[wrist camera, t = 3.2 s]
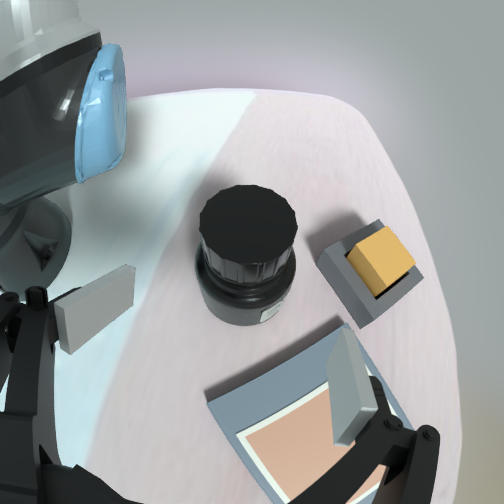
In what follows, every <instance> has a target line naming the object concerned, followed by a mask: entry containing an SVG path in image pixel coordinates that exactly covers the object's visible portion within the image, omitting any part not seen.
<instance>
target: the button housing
mask: <svg viewBox="0 0 504 504" xmlns="http://www.w3.org/2000/svg"><path fill="white" fill-rule="evenodd" d="M384 227H385V226H384V225H383V223H382V222H381V221H380V220H379V219H378V220H376V221H374V222H373V223H371V224H369V225H367V226H365V227H364V228H362V229H360V230H358V231H356V232H355V233H353V234H351V235H349V236H347V237H345V238H344V239H342V240H340V241H338V242H336V243H334V244H333V245H331V246H329V247H327V248H325V249H324V250H323V252H322V254H321V256H320V257H319V259H318V261H317V263H316V266H317V267H318V268H319V270H320V271H321V273H322V274H323V275H324V277H325V278H326V280H327V281H328V283H329V284H330V285H331V287H332V288H333V290H334V291H335V293H336V294H337V295H338V297H339V298H340V300H341V301H342V303H343V304H344V306H345V307H346V309H347V310H348V312H349V313H350V315H351V316H352V317H353V319H354V320H355V322H356V323H357V325H358V326H359V328H360V329H361V328H363V327H364V326H366V325H368V324H369V323H371V322H372V321H374V320H375V319H376V318H378V317H379V316H380V315H381V314H383V313H384V312H385V311H386V310H388V309H389V308H390V307H391V306H393V305H394V304H395V303H396V302H397V301H398V300H400V299H401V298H402V297H403V296H404V295H405V294H407V293H408V292H409V291H410V290H411V289H412V288H413V287H414V286H416V285H417V284H418V283H419V282H420V281H421V280H422V279H423V278H424V277H423V276H422V274H421V273H420V271H419V270H418V269H417V267H416V266H415V265H413V266H412V267H411V268H410V269H409V270H408V271H407V272H406V273H405V274H404V275H402V276H401V277H400V278H399V279H398V280H397V281H395V282H394V285H395V286H394V287H393V288H392V289H390V290H389V291H388V292H387V293H385V294H384V295H383V296H381V297H380V298H379V299H377V300H376V299H375V298H374V296H373V295H372V294H371V292H370V291H369V289H368V288H367V286H366V285H365V284H364V282H363V281H362V279H361V278H360V277H359V275H358V274H357V273H356V271H355V270H354V268H353V267H352V266H351V264H350V263H349V262H348V260H347V259H346V258H347V256H348V255H349V253H350V252H351V250H352V249H353V248H354V246H355V245H356V244H357V243H359V242H361V241H362V240H364V239H366V238H367V237H369V236H371V235H372V234H374V233H376V232H377V231H379V230H381V229H382V228H384Z"/></svg>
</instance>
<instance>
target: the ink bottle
mask: <svg viewBox="0 0 504 504" xmlns="http://www.w3.org/2000/svg"><path fill="white" fill-rule="evenodd" d="M297 229H298V225H297V222H296V217H295V211H294V210H293V209H292V208H291V206H290V205H289V204H288V202H287V200H286V199H285V198H283V197H281V196H280V195H278V194H277V193H275V192H274V191H273V190H271V189H267V188H263V187H260V186H257V185H235V186H234V187H230V188H227V189H224V190H221V191H219V193H217V194H216V195H215V196H213V197H212V198H211V199H209V200H208V201H207V203H206V205H205V207H204V209H203V210H202V212H201V213H200V227H199V232H200V237H201V242H200V244H199V246H198V249H197V252H196V257H195V270H196V276H197V279H198V282H199V286H200V289H201V292H202V295H203V298H204V301H205V303H206V305H207V307H208V308H209V310H210V311H211V312H212V313H213V314H214V315H215V316H216V317H217V318H219V319H221V320H222V321H224V322H227V323H229V324H233V325H238V326H251V325H256V324H260V323H263V322H265V321H267V320H268V319H270V318H271V317H273V316H274V315H275V314H276V313H277V312H278V310H279V309H280V308H281V306H282V304H283V302H284V300H285V298H286V296H287V294H288V292H289V290H290V288H291V285H292V282H293V280H294V276H295V271H296V258H295V253H294V250H293V247H292V246H293V243H294V238H295V235H296V232H297Z"/></svg>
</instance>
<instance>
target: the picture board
mask: <svg viewBox="0 0 504 504" xmlns="http://www.w3.org/2000/svg"><path fill="white" fill-rule="evenodd" d="M342 328H346V329H350V330H352V329H351V328H350V326H349V325H348V323H345V324H344V325H342V326H341V327H339V328H338V329H336V330H335V331H333V332H332V333H330V334H329V335H327V336H326V337H324V338H323V339H321V340H320V341H318V342H317V343H315V344H314V345H312V346H310V347H309V348H307V349H306V350H304V351H302V352H301V353H299V354H298V355H296V356H294V357H293V358H291V359H289V360H288V361H286V362H284V363H282V364H281V365H279V366H277V367H276V368H274V369H272V370H270V371H269V372H267V373H265V374H263V375H261V376H259V377H258V378H256V379H254V380H252V381H250V382H248V383H246V384H245V385H243V386H241V387H239V388H237V389H235V390H233V391H231V392H229V393H227V394H225V395H223V396H221V397H219V398H217V399H214V400H212V401H210V402H208V403H206V404H207V406H208V408H209V410H210V411H211V413H212V415H213V416H214V418H215V420H216V421H217V423H218V425H219V426H220V428H221V430H222V431H223V433H224V435H225V436H226V438H227V439H228V441H229V442H230V444H231V445H232V447H233V449H234V450H235V452H236V453H237V455H238V456H239V458H240V459H241V460H242V462H243V463H244V465H245V466H246V468H247V469H248V471H249V472H250V473H251V475H252V476H253V478H254V479H255V480H256V482H257V483H258V484H259V486H260V487H261V488H262V490H263V491H264V492H265V494H266V495H267V496H268V497H269V499H270V500H271V501H272V502H273V504H287V503H289V502H290V501H291V500H293V499H294V498H295V497H297V496H298V495H299V494H301V493H302V492H303V491H304V490H306V489H307V488H308V487H309V486H311V485H312V484H313V483H314V482H315V481H317V480H318V479H319V478H320V477H321V476H322V475H323V474H325V473H326V472H327V471H328V470H329V469H330V468H331V467H332V466H333V465H334V464H336V463H337V462H338V461H339V460H340V459H341V458H342V457H343V456H344V455H345V454H346V453H347V452H348V451H349V450H350V449H351V448H352V447H353V446H354V445H355V440H354V441H353V442H352V443H351V445H350V446H349V447H344V446H334V445H333V431H332V419H331V407H330V397H329V387H328V378H327V369H326V362H327V360H328V358H329V356H330V354H331V352H332V349H333V347H334V345H335V343H336V340H337V338H338V336H339V334H340V331H341V329H342ZM355 336H356V335H355ZM356 339H357V341H358V344H359V347H360V350H361V353H362V357H363V360H364V363H365V366H366V369H367V372H368V375H369V376H376V377H377V378H378V380H379V381H380V382H381V383H382V386H383V389H384V392H385V395H386V396H385V397H386V398H387V401H388V404H389V407H390V410H391V413H392V414H393V415H395V416H397V417H398V418H400V419H401V421H402V422H403V425H404V427H405V428H408V429H411V430H414V429H413V427H412V425H411V424H410V422H409V420H408V419H407V417H406V415H405V413H404V412H403V410H402V408H401V407H400V405H399V403H398V402H397V400H396V399H395V397H394V395H393V394H392V392H391V390H390V389H389V387H388V385H387V384H386V382H385V381H384V379H383V377H382V376H381V374H380V373H379V371H378V369H377V368H376V366H375V365H374V363H373V362H372V360H371V358H370V357H369V355H368V354H367V352H366V351H365V349H364V348H363V346H362V345H361V343H360V341H359V340H358V338H357V337H356ZM385 468H386V466H383V465H380V464H379V465H378V467H377V468H376V469H375V470H374V472H373V473H372V474H371V475H370V477H369V478H368V479H367V480H366V481H365V483H364V484H363V485H362V486H361V487H360V488H359V490H358V491H357V492H356V493H355V494H354V495H353V496H352V497H351V498H350V499H349V500H348V502H347V503H346V504H371V503H372V501H373V499H374V497H375V494H376V492H377V489H378V487H379V484H380V482H381V479H382V477H383V474H384V471H385Z"/></svg>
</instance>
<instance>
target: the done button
mask: <svg viewBox="0 0 504 504" xmlns="http://www.w3.org/2000/svg"><path fill="white" fill-rule="evenodd" d="M346 259H347V260H348V262H349V263H350V264H351V266H352V267H353V268H354V270H355V271H356V273H357V274H358V275H359V277H360V278H361V279H362V281H363V282H364V284H365V285H366V286H367V288H368V289H369V291H370V292H371V294H372V295H373V296H374V298H375V297H376V296H377V295H379V294H380V293H381V292H382V291H384V290H385V289H386V288H388V287H389V286H390V285H392V284H393V283H394V282H395V281H397V280H398V279H399V278H400V277H401V276H402V275H404V274H405V273H406V272H407V271H408V270H409V269H410V268H411V267H412V266H413V265H415V264H416V262H415V260H414V259H413V258H412V256H411V255H410V254H409V252H408V251H407V250H406V248H405V247H404V246H403V244H402V243H401V242H400V241H399V239H398V238H397V237H396V236H395V234H394V233H393V232H392V231H391V229H390V228H389V227H388V226H386V227H384V228H382V229H381V230H379V231H377V232H376V233H374V234H372V235H371V236H369V237H367V238H366V239H364V240H362V241H361V242H359V243H357V244H356V245H355V246H354V248H353V249H352V250H351V252H350V253H349V255H348V256H347V258H346Z"/></svg>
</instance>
